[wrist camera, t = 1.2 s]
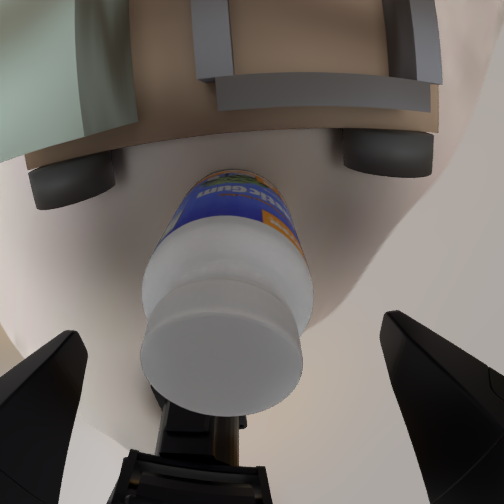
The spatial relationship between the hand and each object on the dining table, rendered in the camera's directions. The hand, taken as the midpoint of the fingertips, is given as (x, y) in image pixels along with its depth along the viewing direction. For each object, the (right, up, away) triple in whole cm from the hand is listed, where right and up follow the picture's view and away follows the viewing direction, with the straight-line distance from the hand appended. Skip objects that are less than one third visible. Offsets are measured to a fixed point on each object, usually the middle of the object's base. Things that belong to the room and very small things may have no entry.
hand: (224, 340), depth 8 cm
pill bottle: (0, +4, +8) cm, 9 cm away
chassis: (-1, +13, +3) cm, 13 cm away
